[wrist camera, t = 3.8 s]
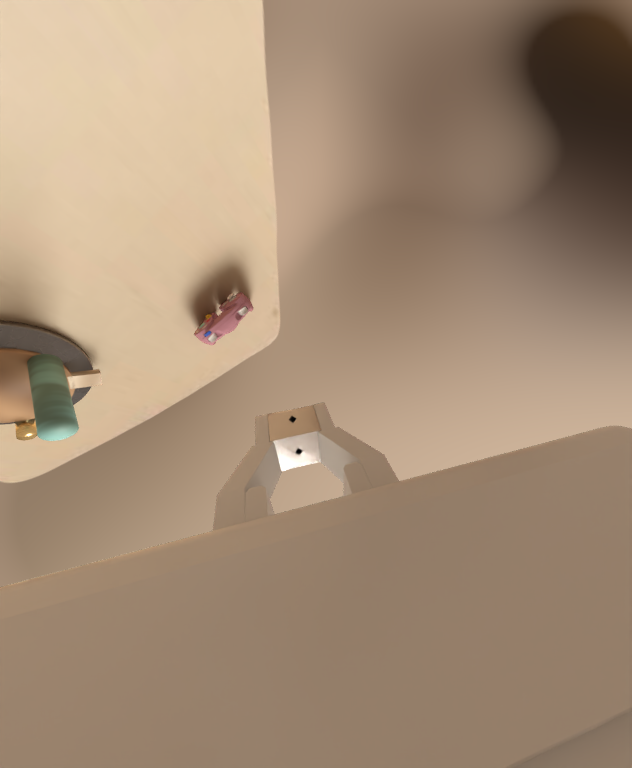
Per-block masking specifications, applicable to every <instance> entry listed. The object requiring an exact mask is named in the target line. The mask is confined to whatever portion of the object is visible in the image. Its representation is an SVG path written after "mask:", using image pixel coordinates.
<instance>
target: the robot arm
mask: <svg viewBox="0 0 632 768" xmlns="http://www.w3.org/2000/svg"><path fill="white" fill-rule="evenodd" d="M255 444H256V445H255V446H252V447H251V448H250V450H249V451H248V452H247V454H246V455H245V457H244V458H243V459H242V461H241V462H240V464H239V465H238V466H237V468H236V469H235V471H234V472H233V473H232V475H231V476H230V478H229V479H228V481H227V482H226V483H225V485H224V486H223V488H222V489H221V490H220V492H219V493H218V495H217V500H216V508H215V517H214V524H213V531H210V532H206V533H203V534H198V535H195V536H191V537H187V538H183V539H180V540H176V541H172V542H168V543H165V544H161V545H157V546H153V547H149V548H146V549H142V550H138V551H135V552H131V553H127V554H123V555H119V556H116V557H112V558H108V559H104V560H100V561H97V562H93V563H89V564H85V565H81V566H78V567H74V568H71V569H67V570H62V571H59V572H55V573H51V574H48V575H44V576H40V577H36V578H32V579H29V580H25V581H21V582H17V583H13V584H10V585H6V586H2V587H0V768H632V429H631V428H627V427H622V426H608V427H603V428H598V429H595V430H591V431H588V432H583V433H580V434H576V435H573V436H568V437H565V438H561V439H557V440H553V441H550V442H546V443H542V444H538V445H535V446H531V447H527V448H523V449H520V450H516V451H512V452H509V453H504V454H501V455H497V456H493V457H489V458H485V459H482V460H478V461H474V462H470V463H467V464H463V465H459V466H455V467H452V468H448V469H444V470H440V471H436V472H433V473H429V474H425V475H421V476H417V477H414V478H410V479H406V480H403V481H399V480H398V478H397V477H396V475H395V473H394V471H393V470H392V468H391V466H390V464H389V463H388V461H387V459H386V457H385V456H384V454H382V453H381V452H379V451H377V450H375V449H374V448H372V447H371V446H369V445H367V444H366V443H364V442H362V441H361V440H359V439H357V438H356V437H354V436H352V435H351V434H349V433H347V432H346V431H344V430H343V429H341V428H339V427H336V428H335V426H334V424H333V421H332V419H331V417H330V414H329V412H328V409H327V407H326V405H325V403H318V404H314V405H311V406H306V407H301V408H297V409H292V410H286V411H281V412H275V413H270V414H265V415H260V416H256V417H255ZM317 462H321V463H322V464H323V465H324V466H326V467H327V468H328V469H329V470H330V471H331V472H332V473H333V474H334V475H335V476H337V477H338V478H339V479H340V480H341V481H342V482H343V483H344V496H342V497H339V498H335V499H331V500H328V501H323V502H320V503H316V504H312V505H308V506H305V507H301V508H297V509H293V510H289V511H285V512H282V513H278V514H274V511H273V508H272V505H271V502H270V498H271V496H272V494H273V491H274V489H275V487H276V484H277V482H278V480H279V478H280V475H281V473H282V471H284V470H288V469H291V468H295V467H299V466H303V465H308V464H312V463H317Z"/></svg>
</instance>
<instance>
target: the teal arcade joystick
mask: <svg viewBox="0 0 632 768" xmlns="http://www.w3.org/2000/svg"><path fill="white" fill-rule="evenodd" d="M97 385H102V379H101V373H100V370H99V369H97V370H88V371H78V372H70V370H69V369H68V368H67V367H66V366H65V365H63V362H62V360H61V359H60V358H59V357H57V356H54V355H50V354H40V353H37V352H33V351H27V350H21V349H11V348H0V423H10V422H19V421H25V420H30V419H34V418H35V422H36V429H37V435H38V437H39V438H41V439H43V440H48V441H55V440H62V439H65V438H68V437H70V436H72V435H74V434H75V433H76V432H77V431H78V429H79V427H78V423H77V419H76V415H75V411H74V407H73V402H72V398H71V397H72V396H73V394H74V391H75V388H83V387H90V386H97Z"/></svg>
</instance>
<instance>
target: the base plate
mask: <svg viewBox="0 0 632 768" xmlns="http://www.w3.org/2000/svg"><path fill="white" fill-rule="evenodd" d="M0 348H11V349H21V350H27V351H33V352H37V353H40V354H50V355H54V356H57V357H59V358H60V359H61V360H62V362H63V365H65V366H66V367H67V368H68V369H69V370H70V372H78V371H88V370H93V367H92V365H91V362H90V359H89V358H88V356H87V355H86V353H85V352H84V351H83V350H82V349H81V348H80V347H79V346H78V345H76V344H75V343H74V342H72V341H70V340H69V339H67V338H65V337H63V336H61V335H59V334H57V333H55V332H52V331H50V330H47V329H43V328H40V327H37V326H32V325H28V324H24V323H17V322H11V321H0ZM90 388H91V386H90V387H83V388H75V391H74V394H73V396H72V397H71V398H72V402H73V405H74V404H75V403H77V402H78V401H79V400H81V399H82V398H83V397H84V396H85V395H86V394H87V392H88V391H89V390H90ZM12 423H15V422H10V423H0V424H12Z"/></svg>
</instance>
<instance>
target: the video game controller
mask: <svg viewBox="0 0 632 768" xmlns="http://www.w3.org/2000/svg"><path fill="white" fill-rule="evenodd" d="M233 295H234V294H230V295H229V296H228V298H227V299H228V300H226V301H225V302H224V303H223V304H222V305H221V306H220V307H219V309H220V310H221V311H222V313H221V314H220V315H219V316H218V315H217V314H216V313H215V312H213V313H211V314H207V315H206V319H205V320H204V321H203V323H202V324H201V325H200V327H199V328H198V329H197V330H196V331H195V333H194V335H195V336H196V337H197V338H198V339H199V340H200V341H202V342H204V343H206V344H210V345H214V344H215V343H216V341H217V340H218V339H220V338H221V337H222V336H224V335H225V334H228V333H230V332H232V331H233V330H234V329H235V328H236V327H237V325H238V323H239V322H240V321H241V319H242V318H243V317H244V316H245V315H246V314H247V313H248V312H249V311H252V310H253V306H252V304H251V302H250V300H249V299H248V298H247V297H246V296H245V295H244V294H243V293H242V292H240V293H238V294H236V295H235V296H233Z"/></svg>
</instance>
